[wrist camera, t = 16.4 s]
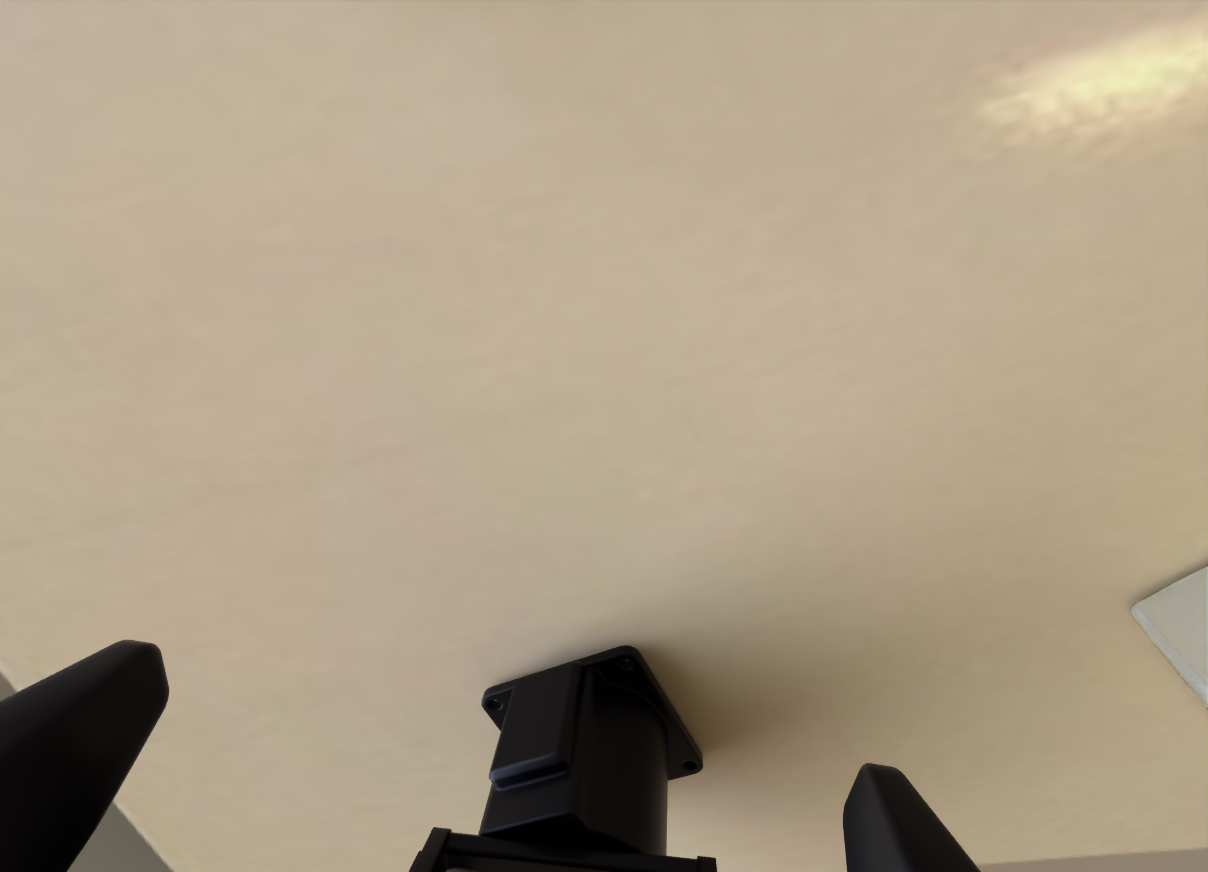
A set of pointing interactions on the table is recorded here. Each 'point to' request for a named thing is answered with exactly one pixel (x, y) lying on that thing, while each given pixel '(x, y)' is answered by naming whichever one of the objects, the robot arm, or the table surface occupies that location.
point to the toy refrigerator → (1180, 628)
